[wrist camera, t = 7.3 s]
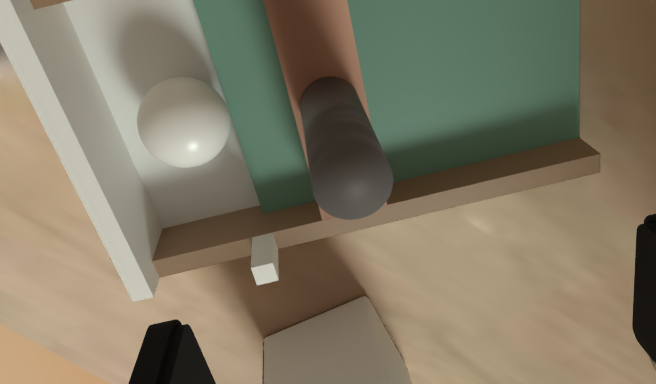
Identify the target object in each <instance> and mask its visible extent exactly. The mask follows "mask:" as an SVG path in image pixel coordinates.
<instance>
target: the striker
mask: <svg viewBox="0 0 656 384" xmlns="http://www.w3.org/2000/svg"><path fill="white" fill-rule="evenodd" d="M263 1H264V4H265V8H266V12H267V16H268V19H269V23H270V27H271V31H272V34H273V38H274V42H275V46H276V49H277V53H278V57H279V61H280V64H281V68H282V72H283V76H284V79H285V83H286V87H287V90H288V94H289V98H290V102H291V105H292V109H293V113H294V117H295V120H296V124H297V128H298V132H299V135H300V139H301V143H302V147H303V150H304V154H305V158H306V161H307V165H308V169H309V173H310V179H311V186H312V192H313V196H314V198H315V200H316V202H317V204H318V206H319V210H320V214H321V218H322V220H326V219H330V218H334V217H336V218H340V219H345V220H354V219H360V218H364V217H367V216H369V215H371V214H373V213H375V212H376V211H377V210H379V209H380V208H381V207H382V206H384V205H387V202H386V201H387V200H388V198H389V196H390V194H391V191H392V188H393V174H392V170H391V168H390V165H389V163H388V161H387V159H386V156H385V154H384V152H383V150H382V148H381V145H380V143H379V141H378V139H377V136H376V134H375V132H374V130H373V128H372V125H371V120H370V115H369V110H368V105H367V100H366V95H365V89H364V84H363V79H362V74H361V69H360V64H359V59H358V54H357V49H356V43H355V38H354V33H353V28H352V23H351V18H350V13H349V8H348V3H347V0H263Z"/></svg>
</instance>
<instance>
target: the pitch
mask: <svg viewBox="0 0 656 384" xmlns="http://www.w3.org/2000/svg"><path fill="white" fill-rule="evenodd" d="M347 3H348V8H349V13H350V18H351V23H352V28H353V33H354V38H355V43H356V49H357V54H358V59H359V64H360V69H361V74H362V79H363V84H364V89H365V95H366V100H367V105H368V110H369V115H370V120H371V125H372V128H373V130H374V132H375V134H376V136H377V139H378V141H379V143H380V145H381V148H382V150H383V152H384V154H385V156H386V159H387V161H388V163H389V165H390V168H391V170H392V174H393V188H392V191H391V194H390V196H389V198H388V200H387V201H386V202H387V205H384V206H382V207H381V208H380V209H379V210H377V211H376V212H375V213H373V214H371V215H369V216H367V217H364V218H360V219H354V220H345V219H340V218H336V217H334V218H330V219H326V220H322V218H321V214H320V210H319V206H318V204H317V202H316V200H315V198H314V196H313V192H312V186H311V179H310V173H309V169H308V165H307V161H306V158H305V154H304V150H303V147H302V143H301V139H300V135H299V132H298V128H297V124H296V120H295V117H294V113H293V109H292V105H291V102H290V98H289V94H288V90H287V87H286V83H285V79H284V76H283V72H282V68H281V64H280V61H279V57H278V53H277V49H276V46H275V42H274V38H273V34H272V31H271V27H270V23H269V19H268V16H267V12H266V8H265V4H264V1H263V0H0V43H1V45H2V47H3V48H4V50H5V52H6V54H7V56H8V58H9V60H10V62H11V64H12V66H13V68H14V70H15V72H16V74H17V76H18V78H19V80H20V82H21V84H22V86H23V88H24V90H25V92H26V93H27V95H28V97H29V99H30V101H31V103H32V105H33V107H34V109H35V111H36V113H37V115H38V117H39V119H40V121H41V123H42V125H43V127H44V129H45V131H46V133H47V135H48V137H49V138H50V140H51V142H52V144H53V146H54V148H55V150H56V152H57V154H58V156H59V158H60V160H61V162H62V164H63V166H64V168H65V170H66V172H67V174H68V176H69V178H70V180H71V182H72V183H73V185H74V187H75V189H76V191H77V193H78V195H79V197H80V199H81V201H82V203H83V205H84V207H85V209H86V211H87V213H88V215H89V217H90V219H91V221H92V223H93V225H94V227H95V228H96V230H97V232H98V234H99V236H100V238H101V240H102V242H103V244H104V246H105V248H106V250H107V252H108V254H109V256H110V258H111V260H112V262H113V264H114V266H115V268H116V270H117V272H118V273H119V275H120V277H121V279H122V281H123V283H124V285H125V287H126V289H127V291H128V293H129V295H130V297H131V299H132V301H133V302H135V301H139V300H143V299H148V298H152V297H154V294H155V291H156V288H157V284H158V281H159V278H160V277H164V276H168V275H172V274H176V273H181V272H185V271H189V270H193V269H197V268H202V267H206V266H210V265H214V264H218V263H222V262H227V261H231V260H235V259H239V258H243V257H248V256H251V270H252V273H253V276H254V278H255V281H256V284H257V286H258V285H262V284H266V283H270V282H274V281H279V271H278V249H281V248H285V247H289V246H293V245H298V244H302V243H306V242H310V241H314V240H319V239H323V238H327V237H331V236H335V235H339V234H344V233H348V232H352V231H356V230H360V229H365V228H369V227H373V226H377V225H381V224H385V223H390V222H394V221H398V220H402V219H406V218H411V217H415V216H419V215H423V214H427V213H431V212H436V211H440V210H444V209H448V208H452V207H457V206H461V205H465V204H469V203H473V202H477V201H482V200H486V199H490V198H494V197H498V196H503V195H507V194H511V193H515V192H519V191H523V190H528V189H532V188H536V187H540V186H544V185H549V184H553V183H557V182H561V181H565V180H569V179H574V178H578V177H582V176H586V175H590V174H594V173H599V172H600V153H599V152H597V151H596V150H595V149H594V148H592V147H591V146H590V145H588V144H587V143H586V142H584V141H583V140H582V139H581V138H579V134H580V0H347ZM174 77H190V78H194V79H198V80H200V81H203V82H205V83H207V84H208V85H210V86H211V87H212V88H214V89H215V90H216V91H217V92H218V93H219V94H220V96H221V97H222V98H223V100H224V102H225V104H226V106H227V108H228V111H229V116H230V132H229V136H228V139H227V141H226V143H225V145H224V147H223V148H222V150H221V151H220V152H219V153H218V154H217V156H215V157H214V158H213V159H212V160H210V161H208V162H207V163H205V164H202V165H199V166H196V167H190V168H181V167H174V166H171V165H168V164H165V163H163V162H161V161H160V160H158V159H157V158H155V157H154V156H153V155H152V154H151V153H150V152H149V151H148V150H147V149H146V147H145V146H144V144H143V143H142V140H141V138H140V136H139V133H138V128H137V114H138V109H139V106H140V104H141V101H142V100H143V98H144V96H145V95H146V94H147V92H148V91H149V90H150V89H151V88H152V87H154V86H155V85H156V84H158V83H160V82H162V81H164V80H166V79H170V78H174Z"/></svg>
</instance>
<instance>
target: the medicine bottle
mask: <svg viewBox="0 0 656 384" xmlns="http://www.w3.org/2000/svg"><path fill="white" fill-rule="evenodd" d="M263 384H412V382H411V379H410V376H409V372H408V369H407V366H406V365H405V363H404V361H403V359H402V357H401V356H400V354H399V352H398V350H397V348H396V347H395V345H394V343H393V341H392V339H391V338H390V336H389V334H388V332H387V330H386V329H385V327H384V325H383V323H382V321H381V319H380V318H379V316H378V314H377V312H376V310H375V309H374V307H373V305H372V303H371V301H370V300H369V298H368V297H366V296H363V297H360V298H357V299H355V300H353V301H350V302H348V303H346V304H343V305H341V306H338V307H336V308H334V309H331V310H329V311H327V312H324V313H322V314H320V315H317V316H315V317H313V318H310V319H308V320H305V321H303V322H301V323H298V324H296V325H294V326H291V327H289V328H287V329H284V330H282V331H280V332H277V333H275V334H272V335H270V336H268V337H266V338H265V339H264V342H263Z"/></svg>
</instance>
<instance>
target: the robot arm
mask: <svg viewBox="0 0 656 384" xmlns="http://www.w3.org/2000/svg"><path fill="white" fill-rule="evenodd" d="M633 331H634V334H635V337H636V339H637V341H638V342H639V344H640V345H641V346H642V347H643V349H644V350H645V351H646V352H647V354H648V355H649V356H650V357H651V358H652V360H653V364H654V367H655V369H656V214H652V215H649V216H647V217H646V218H645V220H644V224H641V225H639V226H638V228H637V236H636V258H635V280H634V302H633ZM129 384H216V383H215V381H214V379H213V376H212V374H211V372H210V370H209V367H208V365H207V363H206V361H205V358H204V356H203V354H202V351H201V349H200V347H199V345H198V342H197V340H196V338H195V336H194V333H193V331H192V329H191V327H190V326H189V325H188V324H185V325H182V324H181V322H180V321H179V320H171V321H167V322H162V323H157V324H153V325H150V326H149V327H148V329H147V332H146V335H145V337H144V340H143V343H142V346H141V349H140V352H139V355H138V358H137V361H136V364H135V367H134V369H133V372H132V375H131V378H130V381H129Z"/></svg>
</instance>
